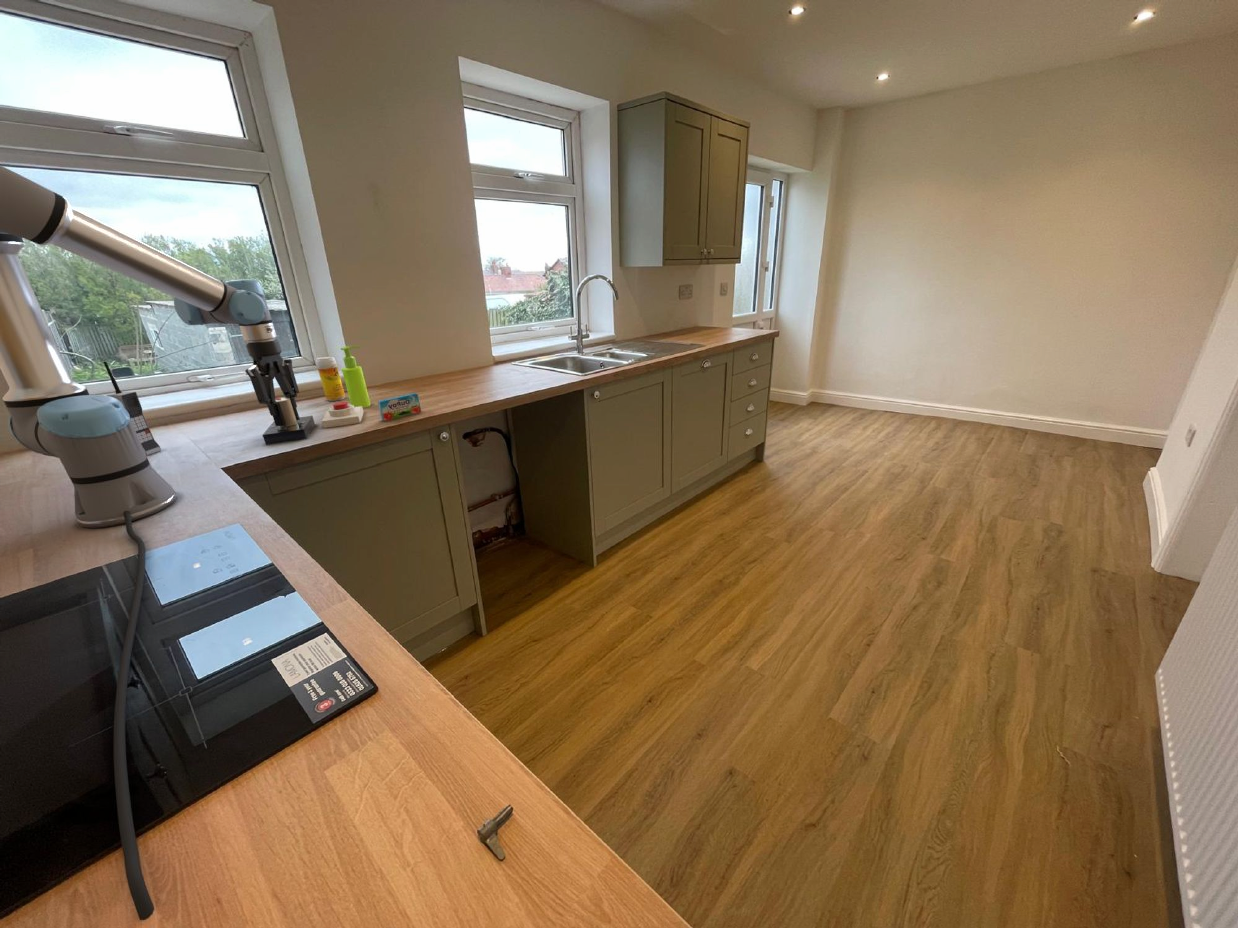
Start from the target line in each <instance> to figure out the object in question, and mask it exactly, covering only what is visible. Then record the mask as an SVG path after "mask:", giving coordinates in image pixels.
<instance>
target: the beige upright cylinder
mask: <svg viewBox="0 0 1238 928" xmlns="http://www.w3.org/2000/svg"><path fill="white" fill-rule="evenodd" d="M275 399H276V403H279V405H280V408H281V411H282V414H283V417H284V420H285V423H286V425H285V426H280V427H288V426H293V425H295V424H297V420H296V417H295V414H294V410H293V407H292V404H291V401H290V398H288V397H285V396H284V397H275Z"/></svg>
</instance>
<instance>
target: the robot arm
mask: <svg viewBox="0 0 1238 928" xmlns="http://www.w3.org/2000/svg"><path fill="white" fill-rule="evenodd" d="M24 240H27V241H29V242H32V243H34V244H36V245H39V246H47V245H53V246H56V247H58V248H59V249H62V250H65V251H66V252H69V253H72V254H74V255H77V256H78V257H80V258H83V259H85V260H87V261H90V262H92V263H94V264H97V265H99V266H102V267H104V268H106V269H109V270H110V271H113V272H116V273H118V274H120V275H122V276H125V277H128V278H129V279H132V280H134V281H137V282H139V283H140V284H144V285H146V286H148V287H149V288H153V289H155V290H157V291H159V292H162V293H164V294H167V295H169V296H171V297H174V298H173V306H174V309H175V312H176V314H177V316H178V317H179V319H180V320H181V321H182V322H183V323H184V324H186V325H187V326H204V325H210V324H221V325H222V324H223V325H228V324H230V325H238V326H239V330H240V332H241V335H242V339H243V341H244V342H246V343H245V348H246V351H247V353H248V356H249V357H251V359H252V366H251V367H250V368H245V373H246V374H247V376H248V377H249V379H250V382H251V385H252V387H253V391H254V393H255V395H256V399H257V403H258V404H260V405H266V406H267V409H268V412H269V415H270V416H272V419H273V422H275V425H276V426H285V425H286V423H285V420H284V417H283V414H282V411H281V408H280V405H279V403H276V399H275V398H276V392H275V386H274V379H275V381H276V382H277V385H278V387H279V388H280V390H281V392H282V394H283V396H284V397H288V398H290V401H291V404H292V407H293V410H294V414H295V417H296V420H300V418H299V417H300V416H299V412H298V410H297V408H298V405H297V402H296V398H297V397H298V394H299V393H300V389H299V387H298V382H297V379H296V375H295V372H294V368H293V360H292V359H291V358H283V356H282V355H281V354H282V347H281V344H280V341H279V340H278V339H276V338H277V337H278V336H277V333H276V330H275V325H274V323H273V319H272V316H271V312H270V309H269V306H268V303H267V299H266V295H265V293H264V290H263V287H262V286H261V282H259V280H257V279H254V278H247V279H231V280H226V281H225V282H223V281H220V280H219V279H216V278H214V277H213V276H211V275H209V274H206V273H205V272H203V271H201V270H199V269H197V268H195V267H193V266H190V265H188V264H186V263H184V262H183V261H180V260H179V259H177V258H175V257H172V256H170V255H169V254H167V253H164V252H162V251H161V250H158V249H156V248H154V247H152V246H150V245H149V244H147V243H145V242H142V241H141V240H138V239H136V238H134V237H132V236H130V235H128V234H126V233H125V232H123V231H120V230H118V229H116V228H114V227H112V226H110V225H108V224H107V223H104V222H102V221H100V220H99V219H96V218H95V217H92V216H90V215H88V214H86V213H84V212H82V211H80V210H78V209H76V208H74V207H72V206H71V204H70V202H69V201H68V199H67V198H66V197H65V196H63V195H61V194H59V193H57V192H55V191H53V190H52V189H49V188H47V187H45V186H43V185H41V184H39V183H38V182H35V181H33V180H32V179H29V178H27V177H26V176H23V175H21V174H19V173H18V172H15V171H14V170H11V169H9V168H7V167H6V166H3V165H1V164H0V371H1V373H2V375H3V378H4V379H5V382H6V383H7V385H8V387H9V389H8V390H7V392H6V393H5V394H4V396H3V397H2V399H1V400H3V403H4V405H5V406H6V409H7V411H8V413H9V418H8V428H9V431H10V433H11V435H12V437H13V438H14V439H15V440H16V441H17V442H18V443H19V444H20V445H22V446H23V447H25V449H28V450H30V451H32V452H34V453H36V454H39V455H40V454H41V455H43V456H47V457H53V458H58V459H59V460H60V463H61V464H62V466H63V468H64V471H65V472H66V474H67V476H68V477H69V479H70V481H71V484H72V485H73V489H74V490H73V491H74V514H75V519H76V520H77V522H78V524H79V526H81V527H82V528H86V529H87V528H88V529H96V528H97V529H98V528H99V529H100V528H107V527H113V526H118V525H119V526H120V525H123V524H124V525H125V530H126V533H127V535H128V537H129V538H130V539H131V540H132V541H134V543H136V545H137V549H138V551H137V552H138V553H137V571H136V572H137V573H136V581H135V587H134V593H133V598H132V603H131V607H130V612H129V618H128V622H127V627H126V633H125V636H124V642H123V646H122V652H121V658H120V662H119V669H118V677H117V684H116V691H115V692H116V693H115V702H114V715H113V771H114V772H113V774H114V785H115V786H114V787H115V789H114V790H115V798H116V799H115V800H116V810H117V820H118V821H117V822H118V828H119V836H120V843H121V848H122V854H123V861H124V869H125V876H126V882H127V886H128V888H129V893H130V895H131V899H132V901H133V905H134V907H135V910H136V912H137V916H138V918H139V920H140V921H146V920H148V919H149V918H150V917H151V916H152V915H153V913H154V912H155V907H154V904H153V901H152V898H151V896H150V893H149V891H148V888H147V887H148V886H147V885H146V882H145V878H144V874H143V870H142V864H141V859H140V853H139V847H138V843H137V838H136V832H135V826H134V819H133V818H134V817H133V811H132V803H131V793H130V785H129V777H128V764H127V745H126V743H127V742H126V741H127V740H126V715H127V712H126V711H127V694H128V682H129V674H130V673H129V672H130V668H131V659H132V653H133V647H134V641H135V635H136V629H137V624H138V619H139V615H140V609H141V602H142V597H143V592H144V591H143V590H144V583H145V575H146V546H145V542H144V541H143V539H142V538H141V537H140V536H138V535H137V534H136V533H135V532H134V528H133V523H132V522H134V521H137V520H140V519H143V518H147V517H149V516H151V515H153V514H156V513H159V512H161V511H163V510H165V509H167V508H168V507H170V506H171V505H172V504H173V503H175V502H176V501H177V499H178V495H177V493H176V491H175V489H174V488H173V486H172V485H171V484H169V483H168V481H166V479H165V478H164V477H162V475H160V474H159V473H158V471H156V470H155V469H154V467H152V465H151V463H150V461H149V458H148V455H146V454H145V451H144V449H143V447H142V445H141V442H140V440H139V438H138V436H137V433H136V431H135V429H134V427H133V424H132V422H131V420H130V415H129V413H128V412H127V410H126V409H125V408H124V406H123V404H122V403H121V402H120V401H119V400H117V399H116V398H113V397H110V396H107V395H104V394H96V395H91V394H90V393H89V391H88V388H87V386H85V385H83V384H81V383H79V382H76V381H74V380H73V378H72V376H71V374H70V371H69V368H68V367H67V365H66V363H65V360H64V358H63V355H62V353H61V351H60V349H59V346H58V344H57V341H56V339H55V337H54V335H53V332H52V330H51V329H50V325H49V324H48V321H47V318H46V317H45V314H44V312H43V310H42V307H41V305H40V303H39V301H38V298H37V296H36V293H35V292H34V289H33V286H32V284H31V282H30V280H29V277H28V276H27V273H26V271H25V268H24V266H23V264H22V261H21V260H20V257H19V252H20V251H21V250H22V249H23V248H24V247H25V245H26V244H25V242H24Z"/></svg>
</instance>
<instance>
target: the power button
mask: <svg viewBox="0 0 1238 928" xmlns="http://www.w3.org/2000/svg"><path fill="white" fill-rule="evenodd" d="M348 405H349V403H348V402H347V401H339V402H338V401H337V402H335V403H332V407H334V410H342V409H346V408H349V407H348Z"/></svg>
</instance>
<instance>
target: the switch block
mask: <svg viewBox="0 0 1238 928" xmlns="http://www.w3.org/2000/svg"><path fill="white" fill-rule="evenodd" d="M348 407H349V408H346V409H342V410H334V407H333V406H332V407H330V408H328V410H327V411H326V412H325V414H324V417H323V418H322V420H321V424H322V427H323V429H327V428H333V427H338V426H339V427H340V426H349V425H354V424H355V425H356V424H361V421H362V419H363V415H364V408H362V406H359V407H354V405H351V404H348Z"/></svg>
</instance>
